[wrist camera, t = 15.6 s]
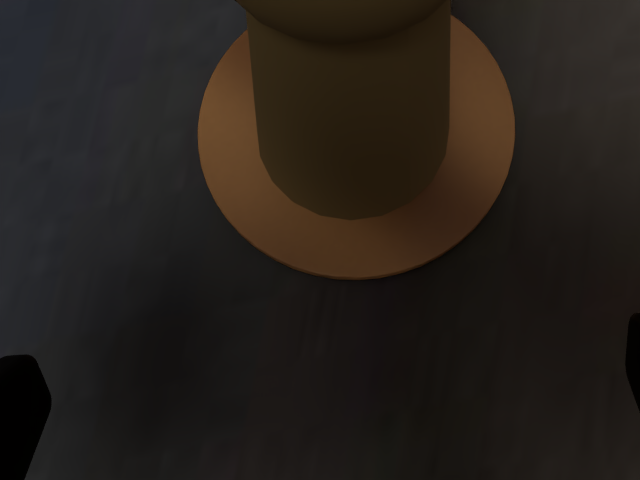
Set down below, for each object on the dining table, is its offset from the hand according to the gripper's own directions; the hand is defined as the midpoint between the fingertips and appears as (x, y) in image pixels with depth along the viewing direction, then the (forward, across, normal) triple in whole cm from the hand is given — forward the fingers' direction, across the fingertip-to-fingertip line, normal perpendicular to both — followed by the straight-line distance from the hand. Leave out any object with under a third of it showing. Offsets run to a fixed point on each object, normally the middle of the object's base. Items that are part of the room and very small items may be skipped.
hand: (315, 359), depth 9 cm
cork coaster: (+12, 0, 0) cm, 12 cm away
